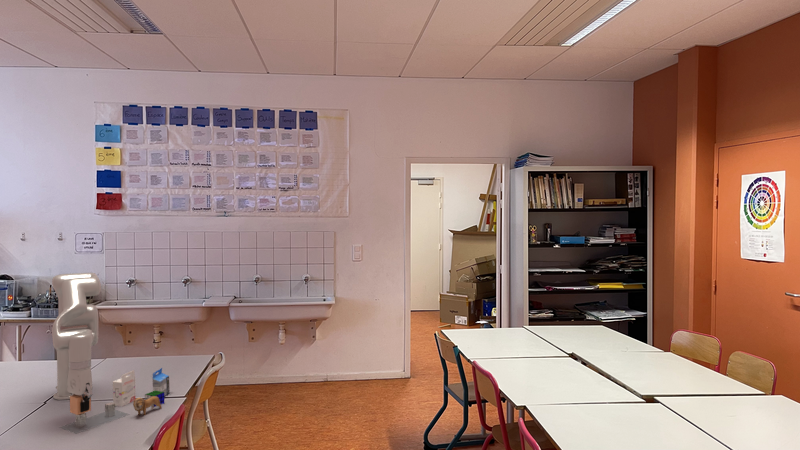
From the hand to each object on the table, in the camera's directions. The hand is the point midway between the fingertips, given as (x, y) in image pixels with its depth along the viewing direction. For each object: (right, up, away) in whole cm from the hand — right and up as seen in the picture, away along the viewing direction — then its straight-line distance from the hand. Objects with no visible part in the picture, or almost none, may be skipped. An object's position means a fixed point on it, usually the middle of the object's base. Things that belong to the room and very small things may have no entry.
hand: (80, 409), depth 204 cm
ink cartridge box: (+4, -7, +26) cm, 27 cm away
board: (+3, -8, +5) cm, 10 cm away
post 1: (0, -7, 0) cm, 7 cm away
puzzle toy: (+18, -8, +25) cm, 31 cm away
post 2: (+6, -7, +11) cm, 14 cm away
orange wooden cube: (0, -1, 0) cm, 1 cm away
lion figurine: (+20, -8, +14) cm, 26 cm away
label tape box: (+15, -7, +36) cm, 40 cm away
